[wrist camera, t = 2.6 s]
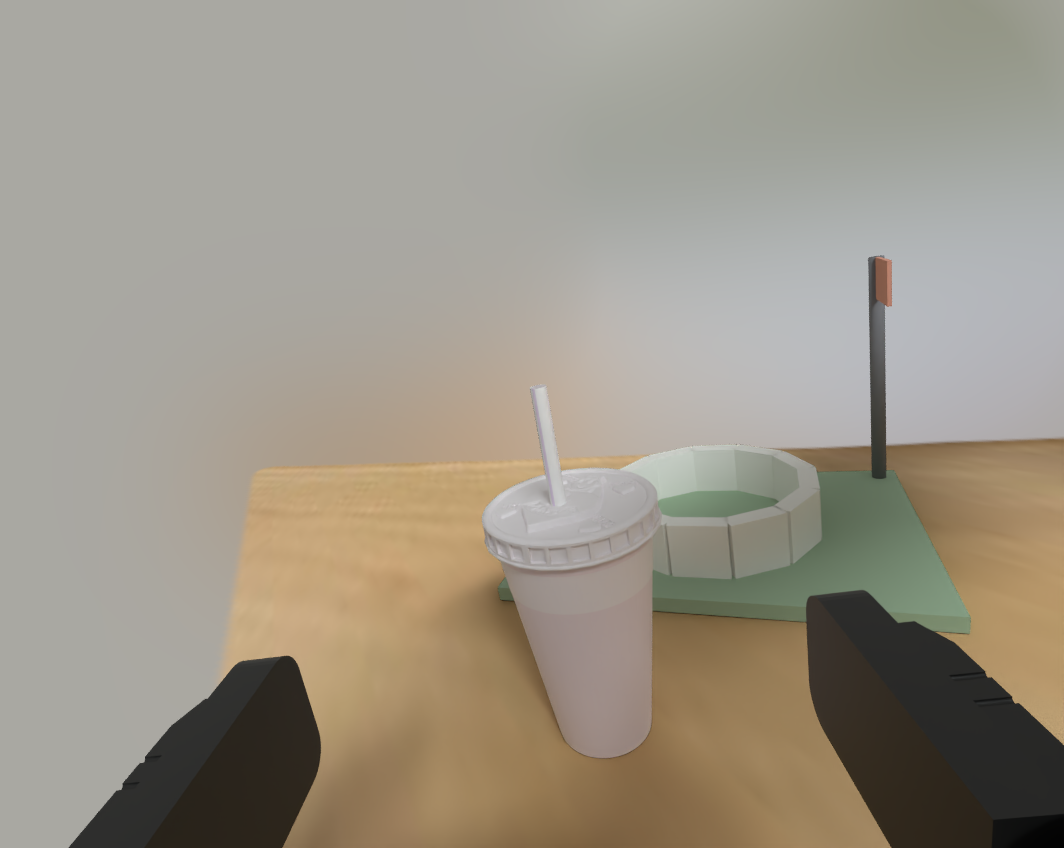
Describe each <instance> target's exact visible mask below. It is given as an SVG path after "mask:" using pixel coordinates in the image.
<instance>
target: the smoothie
mask: <svg viewBox="0 0 1064 848" xmlns="http://www.w3.org/2000/svg"><path fill="white" fill-rule="evenodd" d="M530 392H531V397H532V403H533V409H534V414H535V420H536V424H537V431H538V436H539V441H540V448H541V453H542V459H543V464H544V470H545V475H541V476H537V477H534V478H531V479H528V480H526V481H523V482H521V483H519V484H516V485H514V486H512V487H510V488H509V489H507V490H505V491H503V492H502V493H501V494H499V495H498V496H496V497H495V498H494V499H493V500H492V501H491V502H490V503H489V504H488V505H487V507H486V508H485V510H484V512H483V515H482V523H483V528H484V532H485V544H486V546H487V548H488V551H489V553H490V554H492V555H493V556H494V557H496V558H497V559H498V560H499V561H501V564H502V567H503V570H504V573H505V576H506V579H507V582H508V585H509V588H510V591H511V593H512V596H513V598H514V601H515V604H516V607H517V610H518V613H519V615H520V618H521V621H522V624H523V627H524V629H525V632H526V635H527V638H528V641H529V643H530V646H531V649H532V652H533V655H534V657H535V660H536V663H537V666H538V669H539V672H540V674H541V677H542V680H543V683H544V686H545V688H546V691H547V694H548V697H549V700H550V702H551V705H552V708H553V711H554V714H555V716H556V719H557V722H558V725H559V728H560V731H561V733H562V736H563V738H564V740H565V741H566V742H567V744H568V745H569V746H570V747H571V748H573V749H574V750H576V751H577V752H579V753H581V754H583V755H586V756H589V757H594V758H612V757H617V756H621V755H624V754H626V753H628V752H630V751H632V750H634V749H635V748H637V747H638V746H639V745H640V744H641V743H642V742H643V741H644V740H645V739H646V737H647V735H648V734H649V731H650V729H651V724H652V585H653V536H654V534H655V533H656V531H657V530H658V528H659V527H660V525H661V517H662V512H661V510H660V509H659V507H658V499H657V491H656V489H655V487H654V486H653V484H652V483H651V482H649V481H648V480H647V479H645V478H644V477H642V476H639V475H637V474H635V473H632V472H628V471H624V470H618V469H611V468H580V469H570V470H564V471H561V468H560V462H559V457H558V451H557V445H556V439H555V434H554V427H553V422H552V416H551V410H550V404H549V398H548V393H547V387H546V385H536V386H532V387H530Z"/></svg>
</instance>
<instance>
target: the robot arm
mask: <svg viewBox="0 0 1064 848" xmlns="http://www.w3.org/2000/svg"><path fill="white" fill-rule="evenodd" d="M806 623H807V645H808V666H809V685H810V692H811V697H812V701H813V704H814V708H815V711H816V714H817V717H818V719H819V722H820V724H821V726H822V728H823V730H824V732H825V734H826V736H827V737H828V739H829V741H830V742H831V744H832V746H833V748H834V749H835V751H836V753H837V755H838V756H839V758H840V760H841V761H842V763H843V765H844V767H845V768H846V770H847V772H848V774H849V775H850V777H851V779H852V780H853V782H854V784H855V786H856V787H857V789H858V791H859V793H860V794H861V796H862V798H863V799H864V801H865V803H866V805H867V806H868V808H869V810H870V812H871V813H872V815H873V817H874V818H875V820H876V822H877V824H878V825H879V827H880V829H881V831H882V832H883V834H884V836H885V837H886V839H887V841H888V843H889V844H890V846H891V848H1064V745H1063V744H1062V743H1061V742H1060V741H1059V740H1058V739H1057V738H1055V737H1054V736H1053V735H1052V734H1051V733H1050V732H1049V731H1048V730H1047V729H1046V728H1045V727H1044V726H1043V725H1042V724H1041V723H1040V722H1038V721H1037V720H1036V719H1035V718H1034V717H1033V716H1032V715H1031V714H1030V713H1029V712H1028V711H1027V710H1026V709H1025V708H1024V707H1022V706H1021V705H1020V704H1019V703H1017V704H1015V703H1014V702H1013V700H1012V696H1011V695H1010V694H1009V693H1008V692H1006V691H1005V690H1004V689H1003V688H1002V687H1001V686H1000V685H999V684H998V683H997V682H996V681H995V680H994V679H993V678H992V677H991V678H988V677H987V676H986V674H985V671H984V670H983V669H982V668H981V667H980V666H979V665H978V664H977V663H976V662H975V661H973V660H972V659H971V658H970V657H969V656H968V655H967V654H966V653H965V652H964V651H963V650H962V649H961V648H960V647H959V646H957V645H956V644H955V643H954V642H952V641H950V640H948V639H947V638H945V637H943V636H941V635H939V634H937V633H935V632H934V631H932V630H930V629H928V628H926V627H924V626H922V625H921V624H919V623H917V622H915V621H910V622H901V623H898V622H897V621H896V620H895V619H894V618H893V617H892V616H891V615H890V614H889V613H888V612H887V611H886V610H885V609H884V608H883V607H882V606H881V605H880V604H879V603H878V602H877V601H876V600H875V598H874V597H873V596H872V595H871V594H869V593H868V592H867V591H865V590H856V591H847V592H839V593H830V594H822V595H813V596H810V597H808V599H807V603H806ZM320 754H321V742H320V735H319V731H318V727H317V724H316V721H315V718H314V715H313V711H312V708H311V705H310V702H309V699H308V695H307V692H306V689H305V686H304V683H303V680H302V676H301V673H300V670H299V667H298V665H297V663H296V661H295V660H294V659H293V658H292V657H290V656H281V657H273V658H264V659H256V660H247V661H241V662H239V663H238V664H236V665H235V666H234V667H233V668H232V669H231V671H230V672H229V673H228V674H227V676H226V677H225V678H224V679H223V681H222V682H221V683H220V684H219V685H218V687H217V688H216V689H215V690H214V692H213V693H212V694H211V695H210V697H209V698H208V699H205V700H203V701H202V702H201V703H200V704H199V705H197V706H196V707H195V708H193V709H192V710H191V711H189V712H188V713H187V714H186V715H185V716H183V717H182V718H181V719H179V720H178V721H177V722H176V723H174V724H173V725H172V726H171V727H170V728H169V729H168V731H167V732H166V733H165V734H164V735H163V736H162V737H161V739H160V740H159V741H158V742H157V743H156V745H155V746H154V747H153V748H152V749H151V751H150V752H149V753H148V754H147V755H146V756H145V762H144V763H140V764H139V765H138V766H137V767H136V768H135V769H134V771H133V772H132V773H131V774H130V775H129V777H128V778H127V779H126V780H125V781H124V783H123V788H122V790H119V791H116V792H115V793H114V794H113V796H112V797H111V798H110V799H109V800H108V801H107V803H106V804H105V805H104V806H103V808H102V809H101V810H100V811H99V812H98V813H97V815H96V816H95V817H94V818H93V819H92V820H91V822H90V823H89V824H88V825H87V826H86V828H85V829H84V830H83V831H82V832H81V833H80V835H79V836H78V837H77V838H76V840H75V841H74V842H73V843H72V844H71V845H70V847H69V848H282V847H283V845H284V843H285V841H286V839H287V837H288V835H289V833H290V831H291V828H292V826H293V824H294V822H295V820H296V818H297V816H298V814H299V812H300V809H301V807H302V805H303V803H304V801H305V799H306V797H307V795H308V793H309V790H310V788H311V786H312V784H313V782H314V780H315V777H316V774H317V771H318V767H319V762H320Z"/></svg>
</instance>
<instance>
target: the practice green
mask: <svg viewBox="0 0 1064 848" xmlns="http://www.w3.org/2000/svg"><path fill="white" fill-rule="evenodd" d="M868 262H869V263H868V264H869V323H870V324H869V326H870V382H871V383H870V385H871V386H870V388H871V449H872V471H836V472H817V471H816V467H814V466H813V465H811V464H809V463H807V462H805V461H803V460H801V459H799V458H797V457H795V456H793V455H791V454H789V453H787V452H785V451H784V452H783V451H782V450H775V449H768V448H762V447H755V446H748V445H738V446H737V444H731V445H707V446H706V445H705V446H692V448H691V447H684V448H680V449H675V450H671V451H666V452H661V453H657V454H652V455H648V456H649V457H648V456H645V457H643V458H641V459H639V460H637V461H635V462H633V463H631V464H629V465H627V466H625V467H623V468H621V469H619V470H624V471H628V472H632V473H635V474H637V475H639V476H642V477H644V478H645V479H647V480H648V481H649V482H651V483H652V484H653V486H654V487H655V489H656V491H657V499H658V507H659V509H660V510H661V512H662V517H661V525H660V527H659V528H658V530H657V531H656V533H655V534H654V536H653V585H652V611H662V612H676V613H690V614H704V615H717V616H731V617H745V618H759V619H773V620H787V621H800V622H806V603H807V599H808V597H810V596H813V595H822V594H830V593H839V592H847V591H856V590H865V591H867V592H868V593H869V594H871V595H872V596H873V597H874V598H875V600H876V601H877V602H878V603H879V604H880V605H881V606H882V607H883V608H884V609H885V610H886V611H887V612H888V613H889V614H890V615H891V616H892V617H893V618H894V619H895V620H896V621H897V622H898V623H901V622H910V621H915V622H917V623H919V624H921V625H922V626H924V627H926V628H928V629H930V630H932V631H939V632H953V633H966V634H970V623H971V617H970V615H969V613H968V611H967V609H966V607H965V605H964V604H963V602H962V600H961V598H960V596H959V594H958V592H957V590H956V588H955V586H954V584H953V583H952V581H951V579H950V577H949V575H948V573H947V571H946V569H945V567H944V565H943V563H942V561H941V560H940V558H939V556H938V554H937V552H936V550H935V548H934V546H933V544H932V542H931V540H930V538H929V537H928V535H927V533H926V531H925V529H924V527H923V525H922V523H921V521H920V519H919V517H918V516H917V514H916V512H915V510H914V508H913V506H912V504H911V502H910V500H909V498H908V496H907V494H906V493H905V491H904V489H903V487H902V485H901V483H900V481H899V479H898V477H897V475H896V473H895V471H894V470H886V402H885V399H886V398H885V396H886V393H885V305H886V306H887V307H889V306H892V262H891V260H889V259H885V258H884V256H874V257H869V258H868ZM498 592H499V596H500V600H510V601H514V598H513V596H512V593H511V591H510V588H509V585H508V582H507V579H506V577H505V578H504V580H503V581H502V582H501V584H500V585H499V586H498Z"/></svg>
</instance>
